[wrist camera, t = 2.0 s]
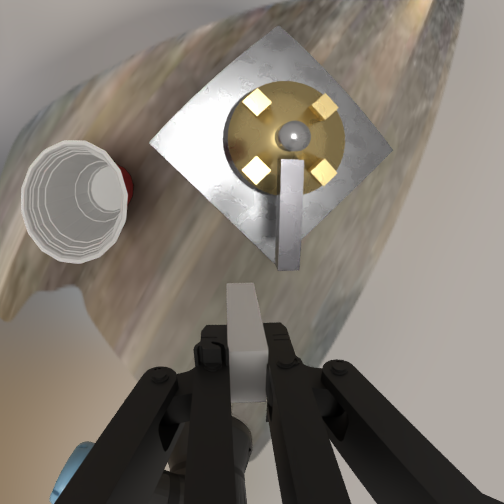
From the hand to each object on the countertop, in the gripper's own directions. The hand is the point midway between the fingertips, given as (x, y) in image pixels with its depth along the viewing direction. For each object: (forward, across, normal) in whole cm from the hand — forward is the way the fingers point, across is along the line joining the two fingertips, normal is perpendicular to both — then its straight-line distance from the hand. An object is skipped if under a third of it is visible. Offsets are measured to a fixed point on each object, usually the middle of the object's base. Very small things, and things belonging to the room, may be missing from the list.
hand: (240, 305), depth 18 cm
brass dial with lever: (+16, +5, +7) cm, 18 cm away
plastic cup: (+20, -14, +5) cm, 25 cm away
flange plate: (+20, +5, +10) cm, 23 cm away
